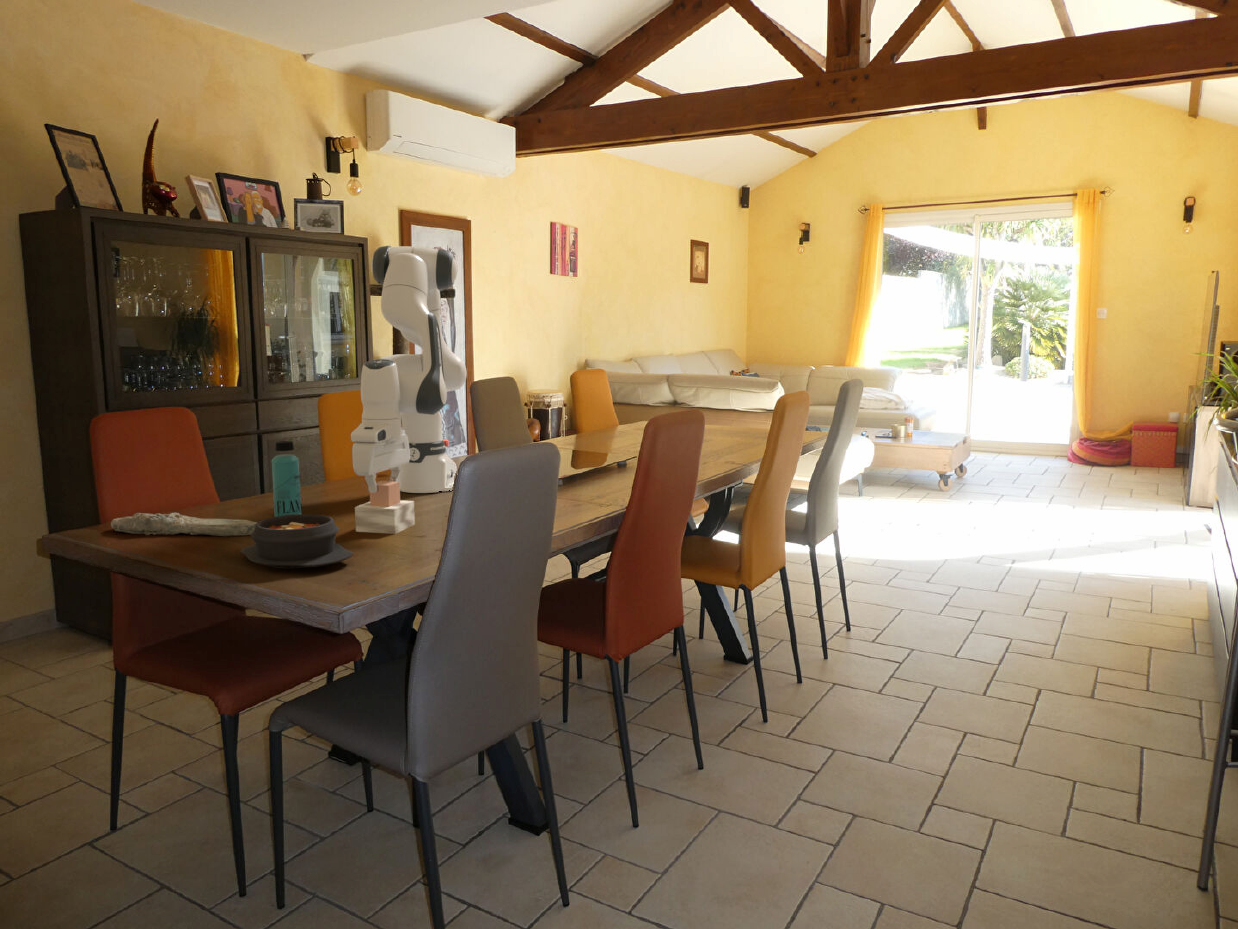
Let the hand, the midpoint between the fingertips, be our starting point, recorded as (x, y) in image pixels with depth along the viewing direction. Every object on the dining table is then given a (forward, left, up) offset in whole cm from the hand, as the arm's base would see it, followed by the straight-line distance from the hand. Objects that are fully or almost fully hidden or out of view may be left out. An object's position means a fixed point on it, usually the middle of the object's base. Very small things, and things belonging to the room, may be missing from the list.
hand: (384, 488), depth 212 cm
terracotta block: (0, 0, -4) cm, 4 cm away
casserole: (+32, -2, -10) cm, 33 cm away
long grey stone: (+16, -43, -10) cm, 47 cm away
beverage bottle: (+2, -25, -10) cm, 27 cm away
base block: (0, 0, -10) cm, 10 cm away
